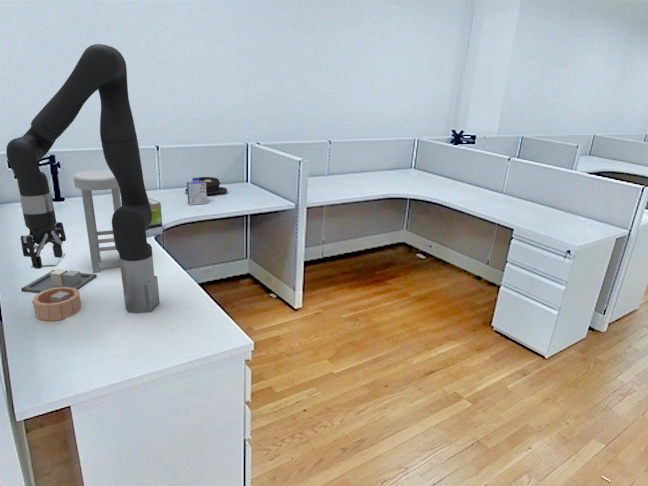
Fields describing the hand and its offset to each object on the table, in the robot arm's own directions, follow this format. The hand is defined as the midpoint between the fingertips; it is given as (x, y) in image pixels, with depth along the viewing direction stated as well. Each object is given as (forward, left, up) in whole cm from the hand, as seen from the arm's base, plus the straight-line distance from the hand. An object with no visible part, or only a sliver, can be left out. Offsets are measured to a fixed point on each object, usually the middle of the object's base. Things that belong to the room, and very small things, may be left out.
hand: (48, 262), depth 131 cm
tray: (+10, -15, -15) cm, 24 cm away
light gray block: (+5, -15, -15) cm, 22 cm away
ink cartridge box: (+6, -123, -16) cm, 124 cm away
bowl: (-1, +1, -15) cm, 16 cm away
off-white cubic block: (+10, -15, -15) cm, 23 cm away
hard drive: (+27, -32, -16) cm, 45 cm away
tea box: (+10, -72, -16) cm, 74 cm away
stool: (+3, -33, -16) cm, 37 cm away
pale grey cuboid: (-2, 0, -15) cm, 15 cm away
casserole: (+10, -147, -16) cm, 148 cm away
